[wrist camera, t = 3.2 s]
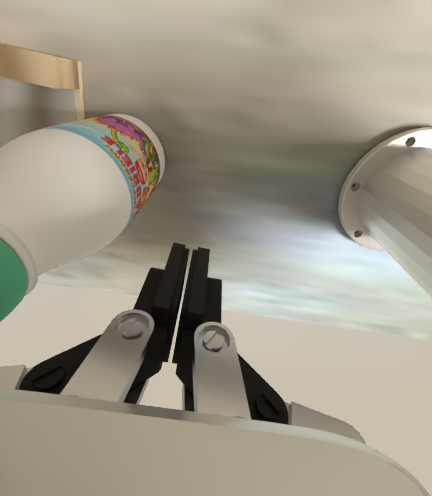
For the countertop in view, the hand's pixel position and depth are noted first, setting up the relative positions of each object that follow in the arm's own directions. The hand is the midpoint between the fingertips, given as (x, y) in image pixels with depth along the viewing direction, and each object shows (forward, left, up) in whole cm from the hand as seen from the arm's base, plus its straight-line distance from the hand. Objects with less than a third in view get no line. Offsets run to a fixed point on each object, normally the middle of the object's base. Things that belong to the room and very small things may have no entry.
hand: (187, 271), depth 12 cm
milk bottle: (+8, 0, -17) cm, 19 cm away
